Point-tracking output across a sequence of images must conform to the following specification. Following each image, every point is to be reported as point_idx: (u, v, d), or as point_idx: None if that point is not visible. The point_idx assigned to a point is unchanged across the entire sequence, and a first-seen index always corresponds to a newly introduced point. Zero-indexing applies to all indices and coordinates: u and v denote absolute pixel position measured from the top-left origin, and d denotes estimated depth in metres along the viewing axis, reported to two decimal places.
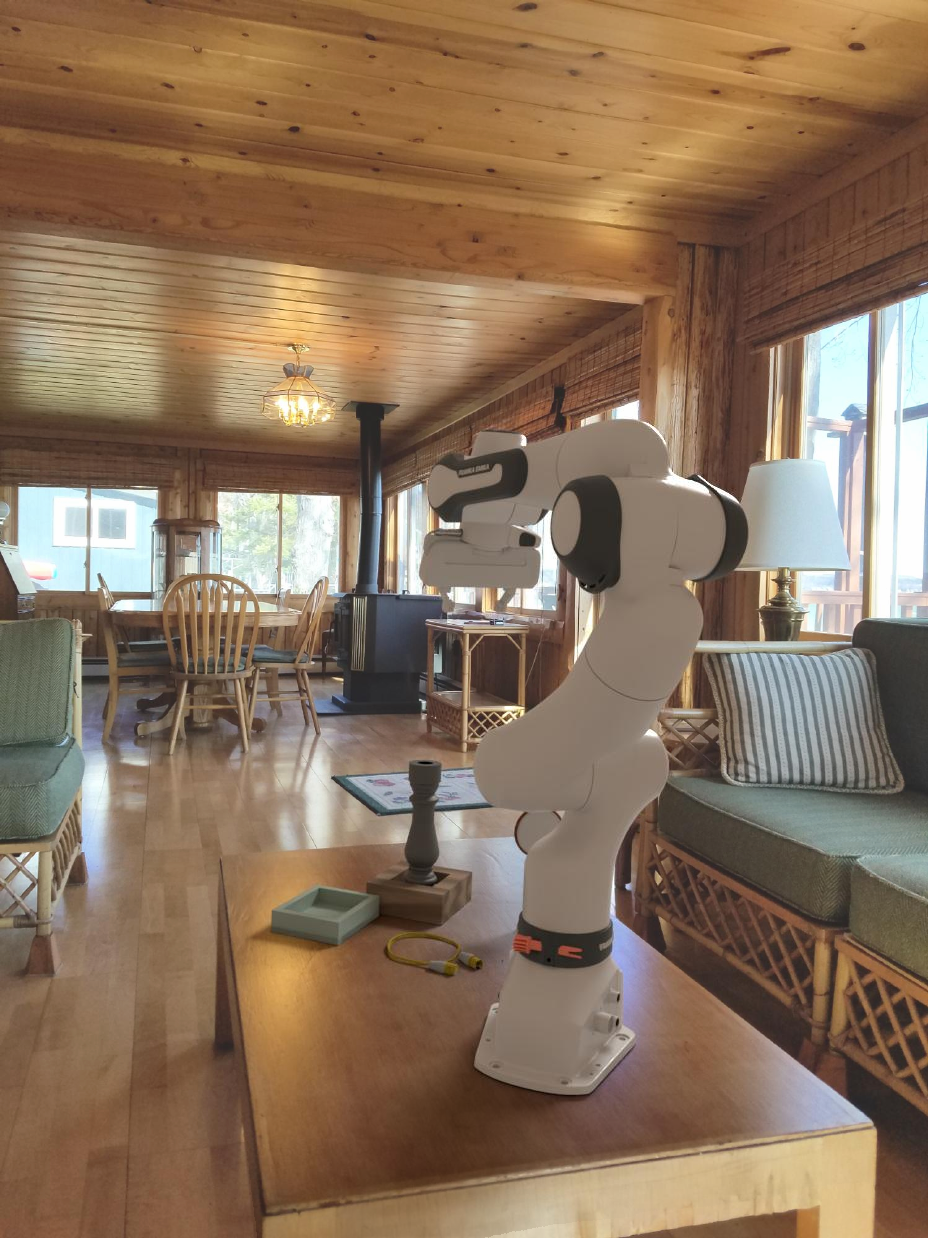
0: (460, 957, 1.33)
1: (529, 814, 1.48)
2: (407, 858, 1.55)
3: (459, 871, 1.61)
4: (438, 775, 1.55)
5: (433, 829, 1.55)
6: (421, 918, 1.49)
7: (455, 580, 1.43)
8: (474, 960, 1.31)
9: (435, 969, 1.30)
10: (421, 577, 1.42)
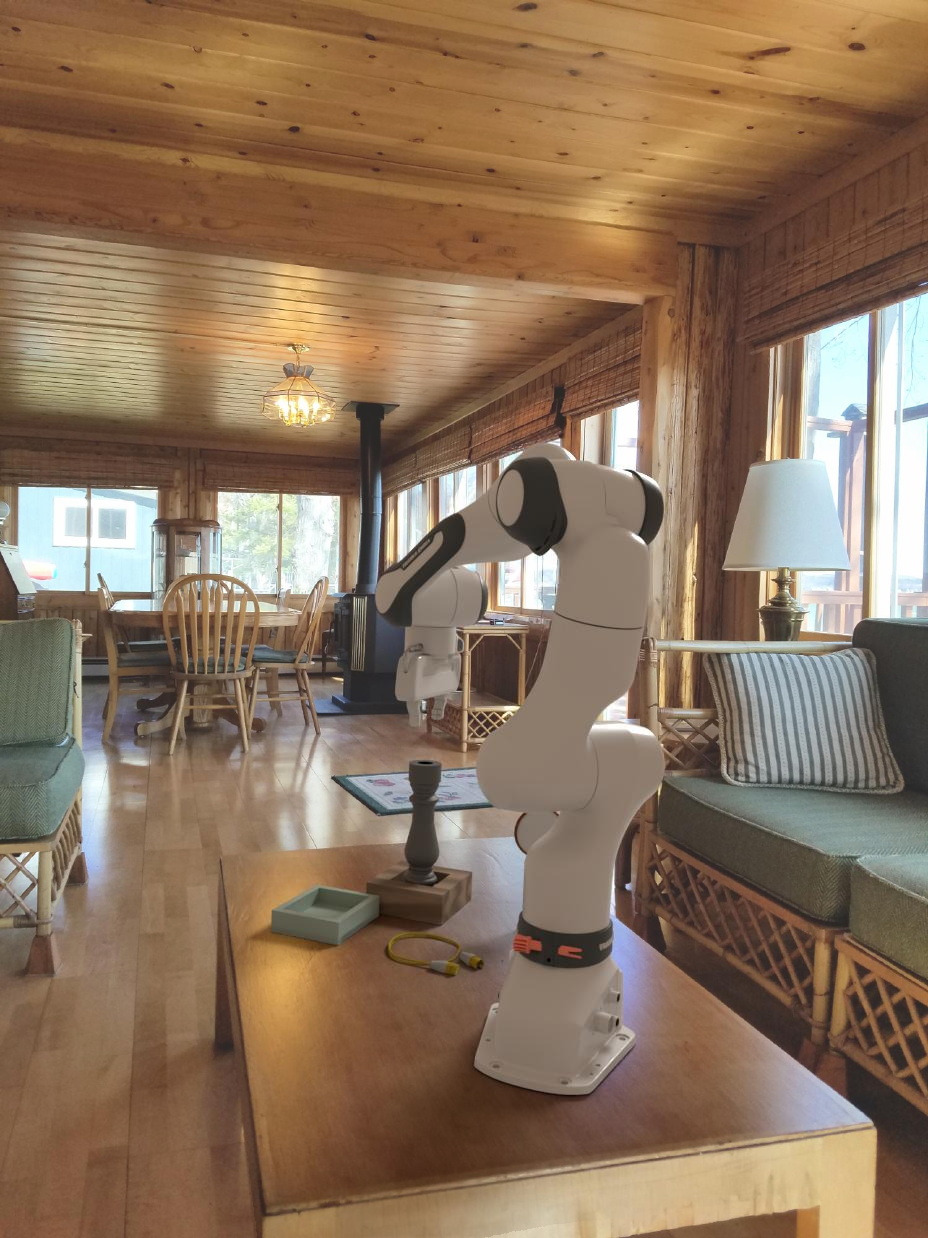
0: (461, 957, 1.33)
1: (529, 814, 1.48)
2: (407, 858, 1.55)
3: (459, 871, 1.61)
4: (438, 775, 1.55)
5: (433, 829, 1.55)
6: (421, 918, 1.49)
7: (426, 692, 1.50)
8: (475, 960, 1.31)
9: (436, 969, 1.30)
10: (404, 695, 1.46)
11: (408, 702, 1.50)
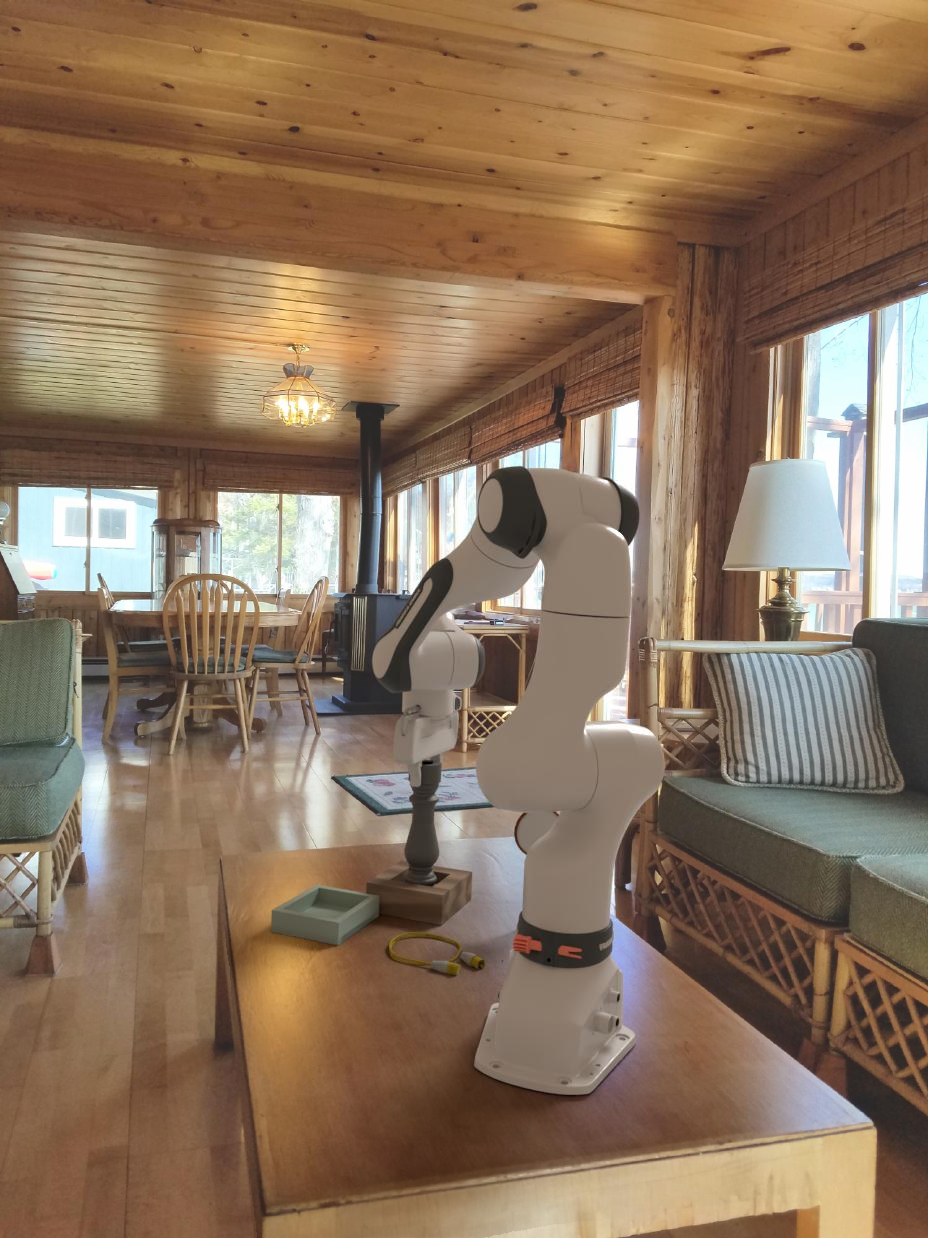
0: (462, 957, 1.33)
1: (529, 814, 1.48)
2: (407, 858, 1.55)
3: (459, 871, 1.61)
4: (438, 775, 1.55)
5: (433, 829, 1.55)
6: (421, 918, 1.49)
7: (424, 753, 1.51)
8: (476, 960, 1.31)
9: (437, 969, 1.30)
10: (401, 758, 1.46)
11: None
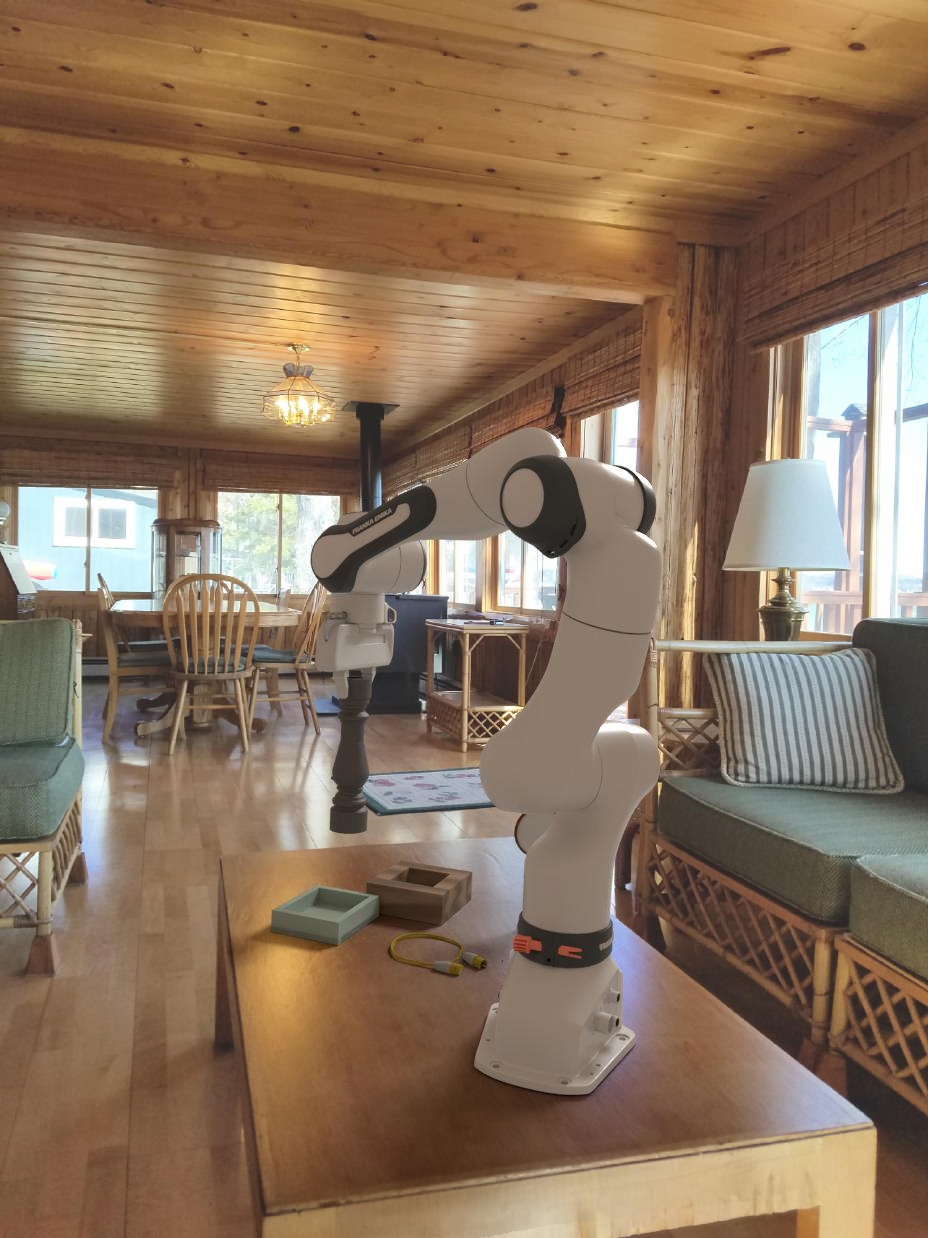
0: (464, 957, 1.33)
1: (529, 814, 1.48)
2: (334, 778, 1.46)
3: (459, 871, 1.61)
4: (367, 690, 1.46)
5: (362, 748, 1.47)
6: (421, 918, 1.49)
7: (350, 662, 1.42)
8: (478, 960, 1.31)
9: (440, 970, 1.30)
10: (324, 665, 1.38)
11: (334, 673, 1.42)
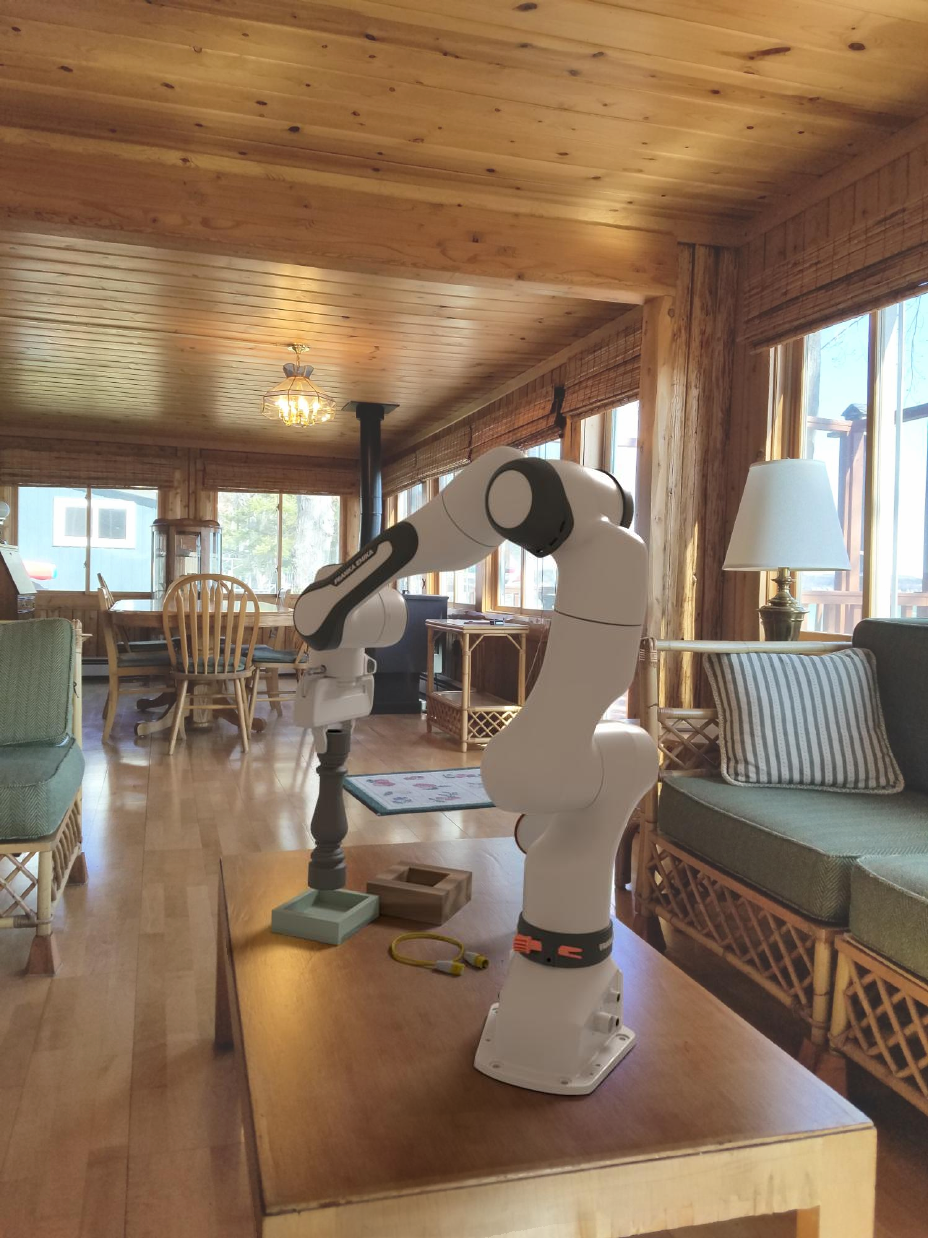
0: (465, 957, 1.33)
1: None
2: (312, 833, 1.44)
3: (459, 871, 1.61)
4: (346, 744, 1.44)
5: (341, 802, 1.45)
6: (421, 918, 1.49)
7: (329, 717, 1.40)
8: (480, 959, 1.31)
9: (441, 969, 1.30)
10: (302, 721, 1.36)
11: (313, 727, 1.40)
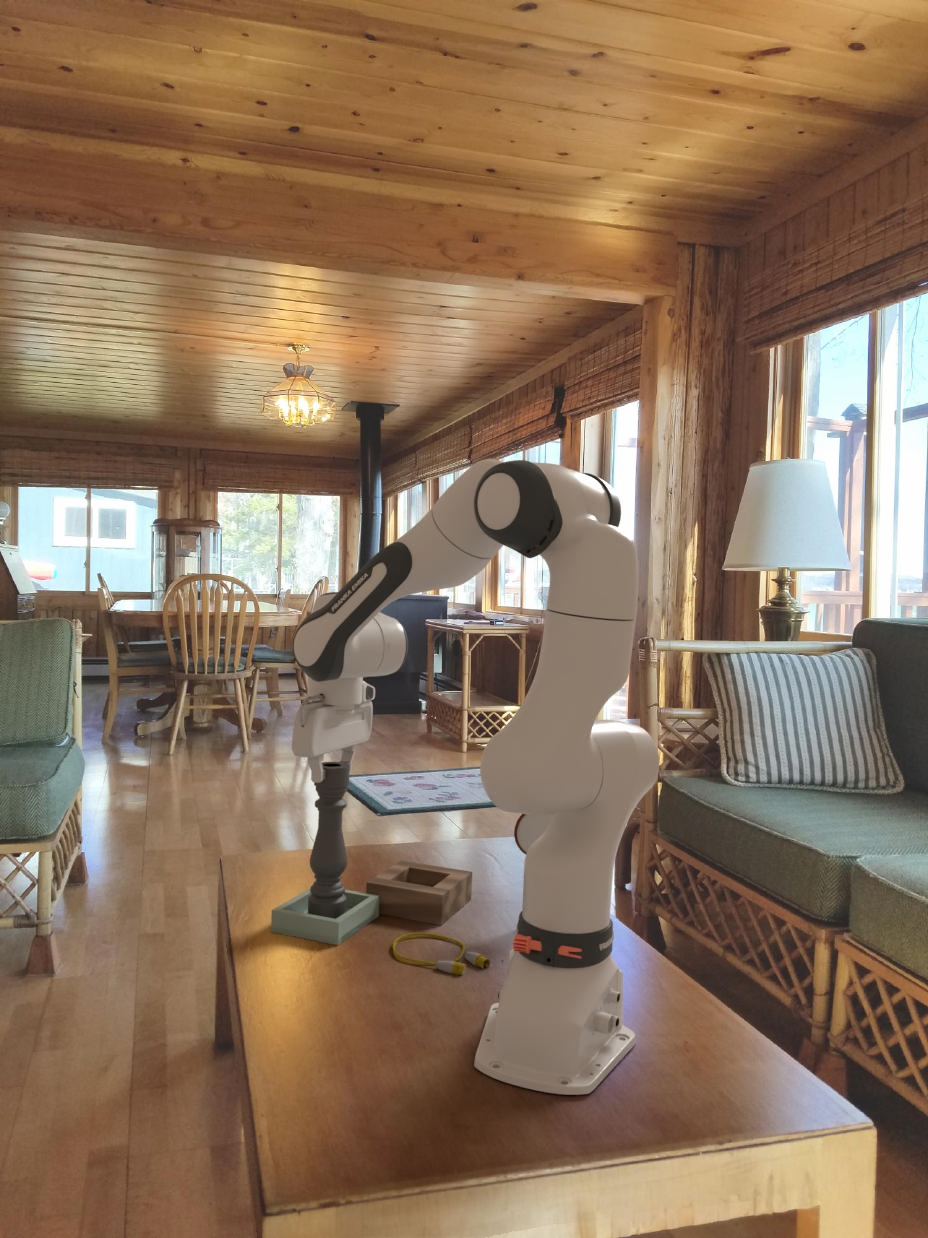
0: (466, 957, 1.33)
1: None
2: (312, 867, 1.44)
3: (459, 871, 1.61)
4: (345, 778, 1.44)
5: (340, 836, 1.45)
6: (421, 918, 1.49)
7: (328, 746, 1.40)
8: (481, 959, 1.31)
9: (443, 969, 1.30)
10: (300, 751, 1.36)
11: None
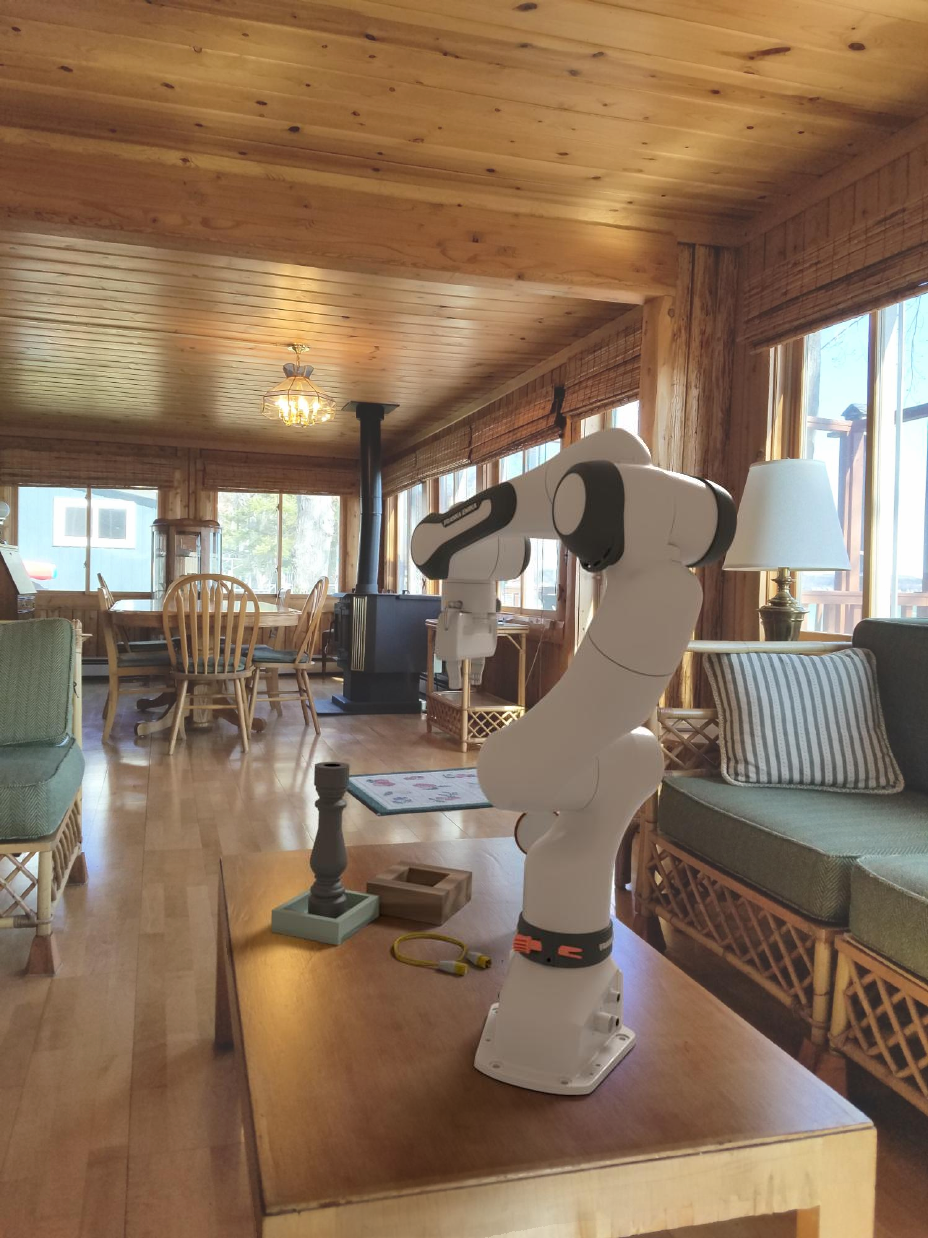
0: (468, 957, 1.34)
1: (529, 814, 1.48)
2: (312, 867, 1.44)
3: (459, 871, 1.61)
4: (345, 778, 1.44)
5: (340, 836, 1.45)
6: (421, 918, 1.49)
7: (467, 652, 1.41)
8: (483, 959, 1.31)
9: (445, 969, 1.30)
10: (444, 654, 1.37)
11: (448, 663, 1.41)
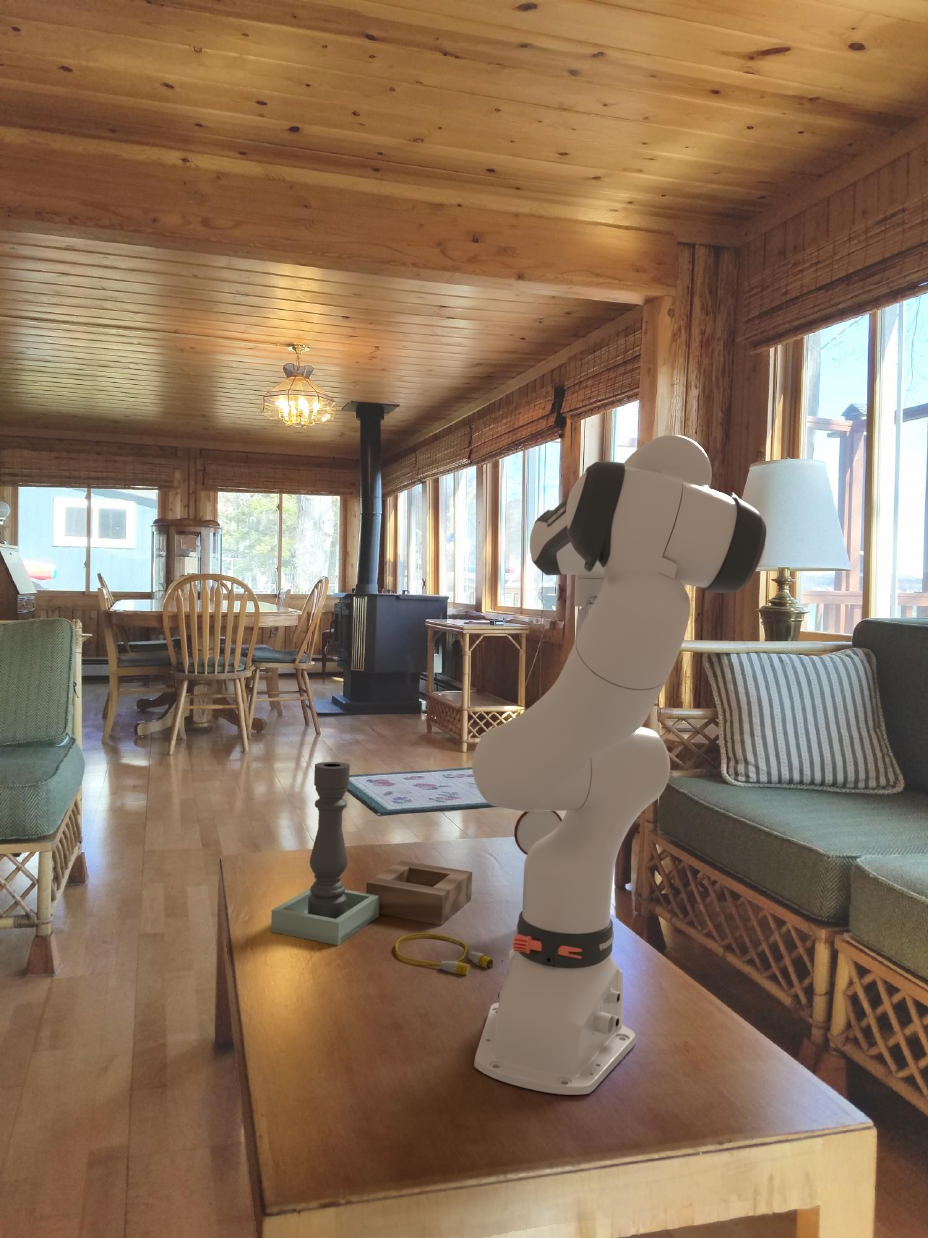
0: (469, 957, 1.34)
1: (529, 814, 1.48)
2: (312, 867, 1.44)
3: (459, 871, 1.61)
4: (345, 778, 1.44)
5: (340, 836, 1.45)
6: (421, 918, 1.49)
7: None
8: (485, 959, 1.31)
9: (447, 969, 1.30)
10: None
11: None
